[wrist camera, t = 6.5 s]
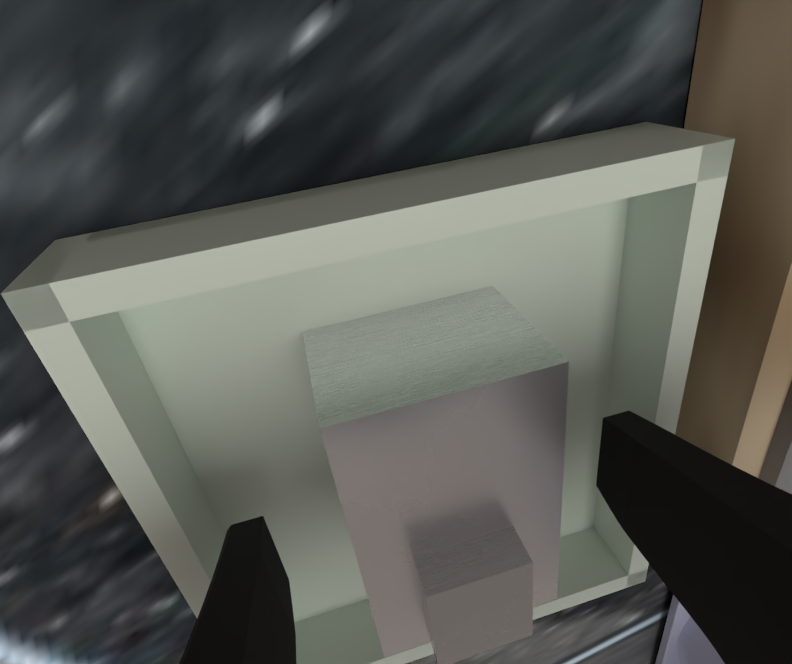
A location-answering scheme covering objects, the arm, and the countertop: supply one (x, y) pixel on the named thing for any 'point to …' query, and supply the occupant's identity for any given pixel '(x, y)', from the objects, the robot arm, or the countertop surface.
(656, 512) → the robot arm
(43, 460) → the countertop surface
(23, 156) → the countertop surface
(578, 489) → the parts tray
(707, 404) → the hand plane
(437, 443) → the lever cap
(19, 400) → the countertop surface
